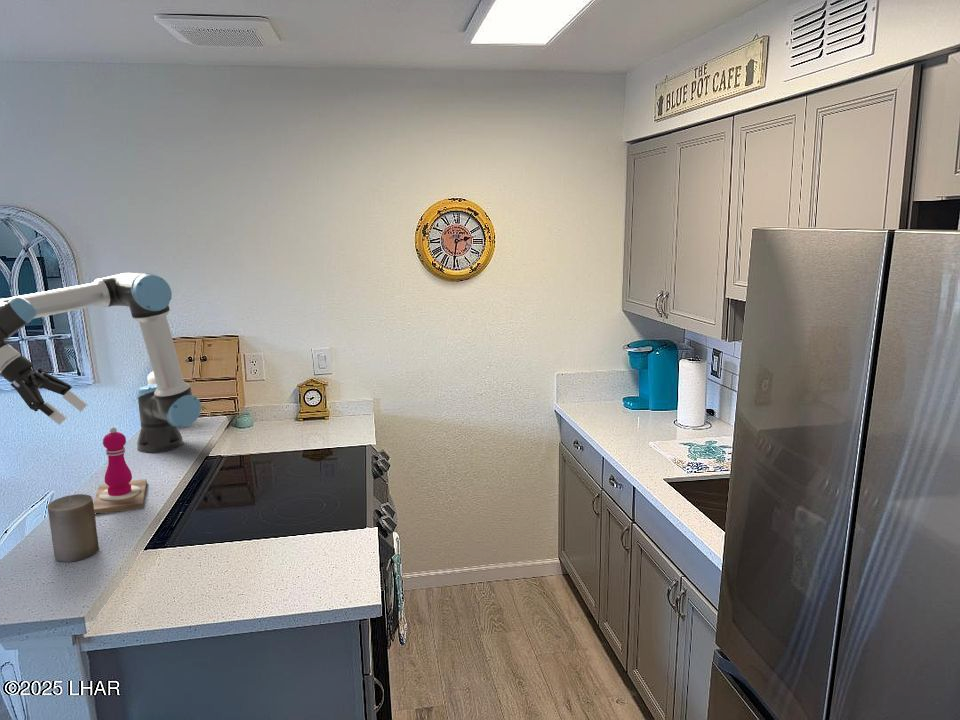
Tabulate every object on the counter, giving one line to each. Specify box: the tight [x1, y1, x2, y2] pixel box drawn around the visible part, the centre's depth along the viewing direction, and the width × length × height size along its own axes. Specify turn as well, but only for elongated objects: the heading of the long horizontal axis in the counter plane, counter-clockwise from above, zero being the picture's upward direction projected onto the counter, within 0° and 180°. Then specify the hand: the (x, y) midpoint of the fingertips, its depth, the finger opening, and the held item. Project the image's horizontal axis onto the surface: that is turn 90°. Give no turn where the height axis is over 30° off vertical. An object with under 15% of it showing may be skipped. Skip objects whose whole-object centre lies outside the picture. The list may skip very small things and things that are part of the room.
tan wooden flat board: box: [93, 478, 148, 514], centre depth 203 cm, size 20×13×2 cm, turn 23°
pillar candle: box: [46, 493, 100, 563], centre depth 168 cm, size 10×10×15 cm
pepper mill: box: [102, 426, 133, 496], centre depth 201 cm, size 7×7×20 cm
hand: (74, 414), depth 196 cm, fingers open, 13 cm apart
